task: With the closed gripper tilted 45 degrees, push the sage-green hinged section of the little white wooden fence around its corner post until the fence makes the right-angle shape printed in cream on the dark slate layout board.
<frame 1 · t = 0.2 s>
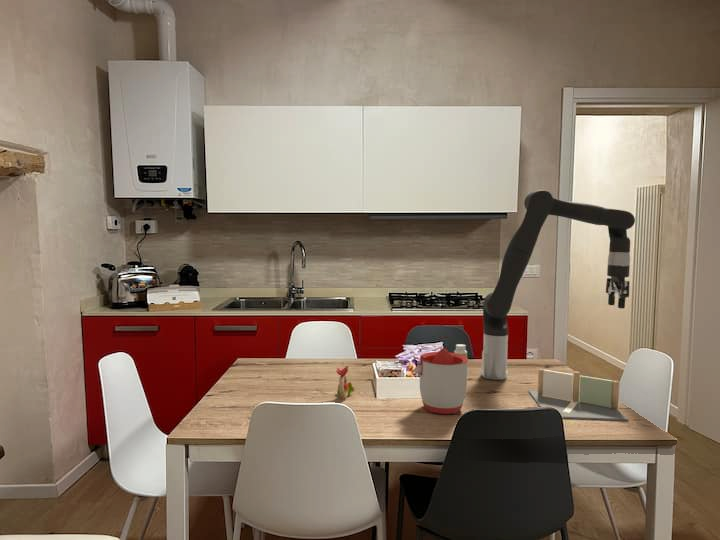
hand: (616, 306, 198), 29 cm above the table, tool pointing down, fingers open, 8 cm apart
supplement bottle: (460, 368, 218), on the table
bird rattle: (344, 397, 180), on the table
fence hinged section: (599, 391, 171), point 5 cm above the table, hinge at 0.0°
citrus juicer: (439, 409, 169), on the table
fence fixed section: (575, 403, 175), resting on layout board
layout board: (574, 405, 173), on the table
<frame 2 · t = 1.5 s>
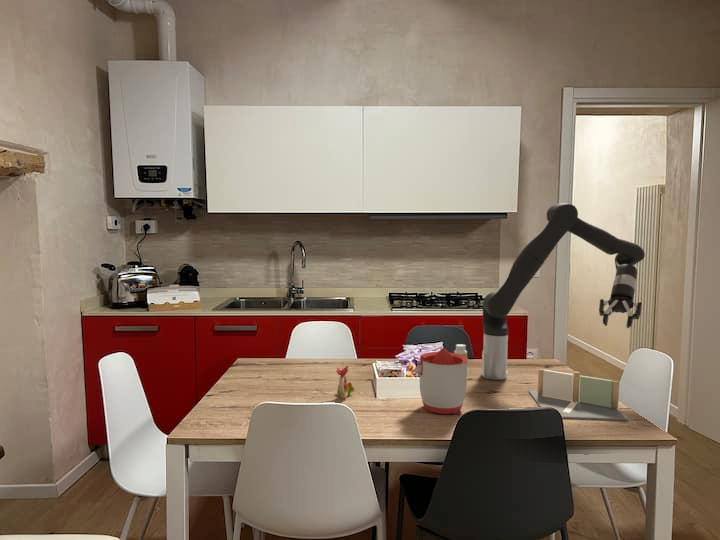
hand: (616, 325, 184), 24 cm above the table, tool tilted 45°, fingers open, 6 cm apart
nothing on the table moved.
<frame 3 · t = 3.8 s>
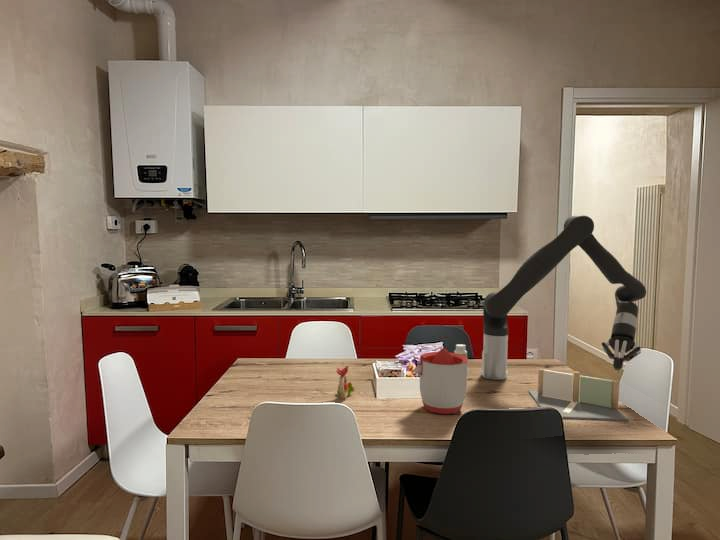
hand: (617, 368, 179), 11 cm above the table, tool tilted 45°, fingers closed
nothing on the table moved.
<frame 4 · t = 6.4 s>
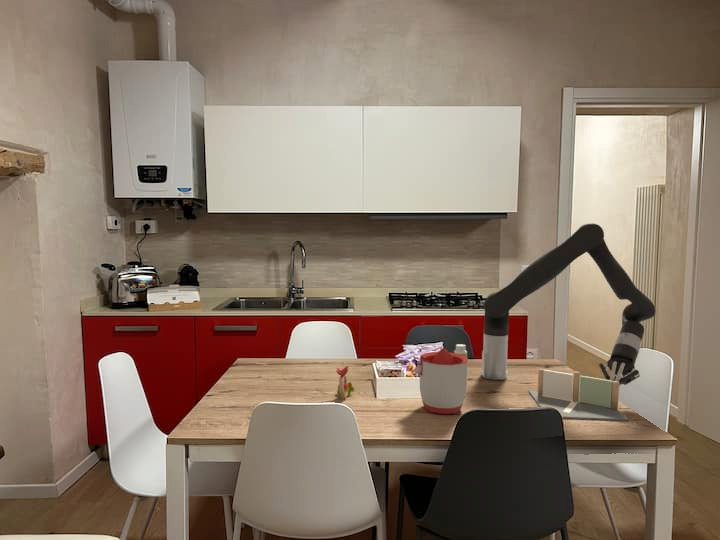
hand: (611, 392, 170), 5 cm above the table, tool tilted 45°, fingers closed
fence hinged section: (598, 392, 171), point 5 cm above the table, hinge at 1.5°, touching gripper
everything else where it was.
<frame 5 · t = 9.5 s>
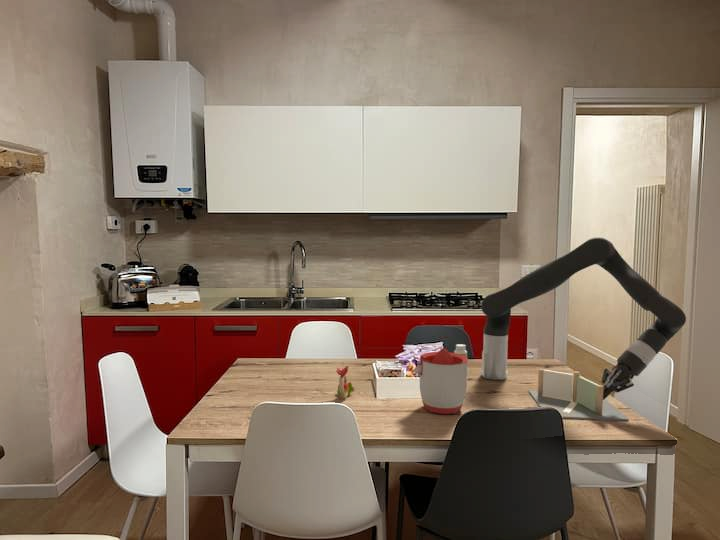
hand: (599, 397, 165), 5 cm above the table, tool tilted 45°, fingers closed
fence hinged section: (589, 394, 168), point 5 cm above the table, hinge at 43.6°, touching gripper
everything else where it was.
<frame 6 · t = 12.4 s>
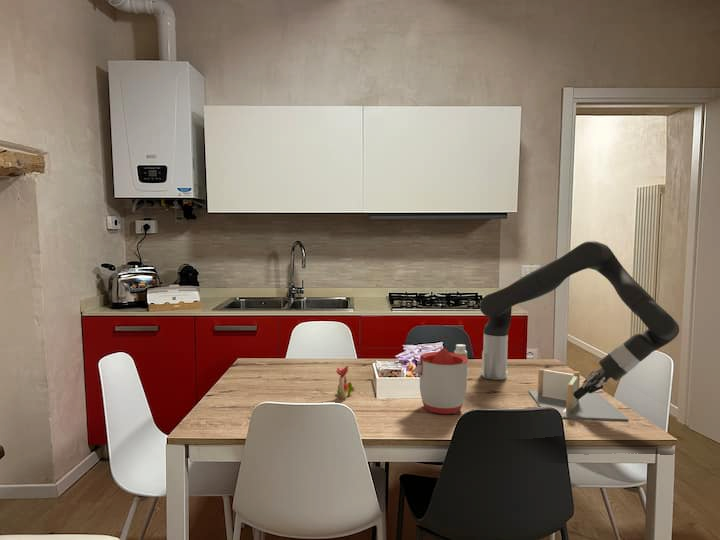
hand: (575, 396, 165), 5 cm above the table, tool tilted 45°, fingers closed
fence hinged section: (572, 393, 169), point 5 cm above the table, hinge at 86.4°
everything else where it was.
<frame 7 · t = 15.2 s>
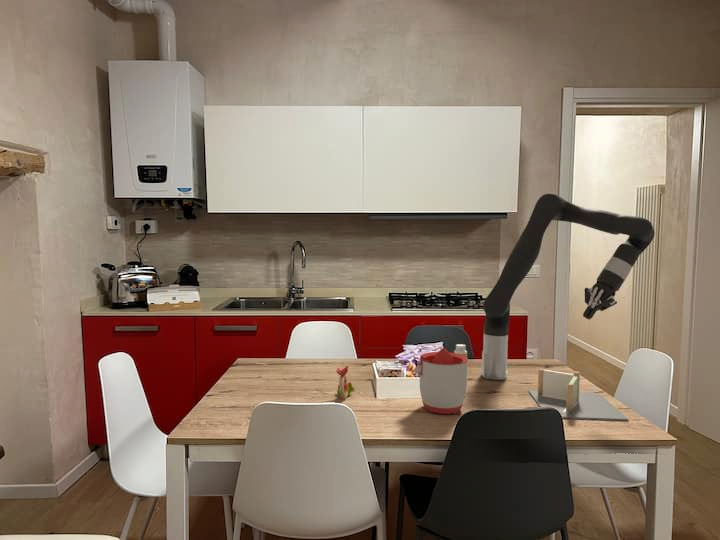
hand: (586, 318, 174), 29 cm above the table, tool tilted 30°, fingers closed
nothing on the table moved.
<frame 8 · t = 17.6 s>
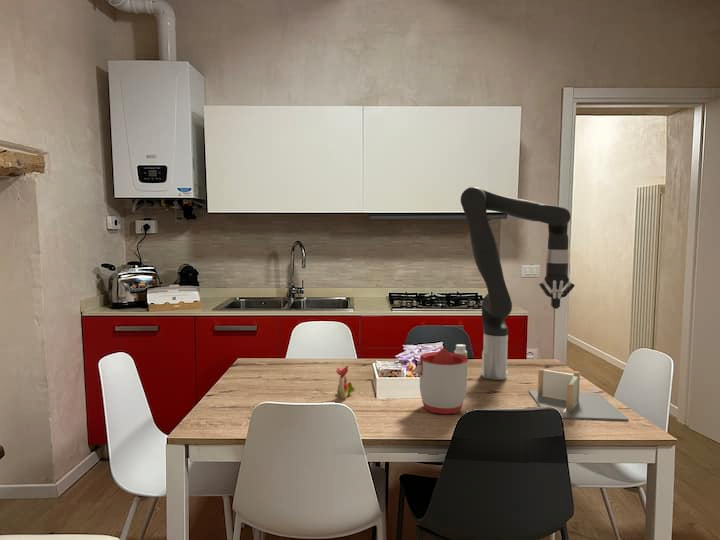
hand: (555, 308, 193), 29 cm above the table, tool pointing down, fingers closed
nothing on the table moved.
at the end: fence hinged section at +86° (first picture: +0°); supplement bottle moved 0.2 cm from its start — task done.
